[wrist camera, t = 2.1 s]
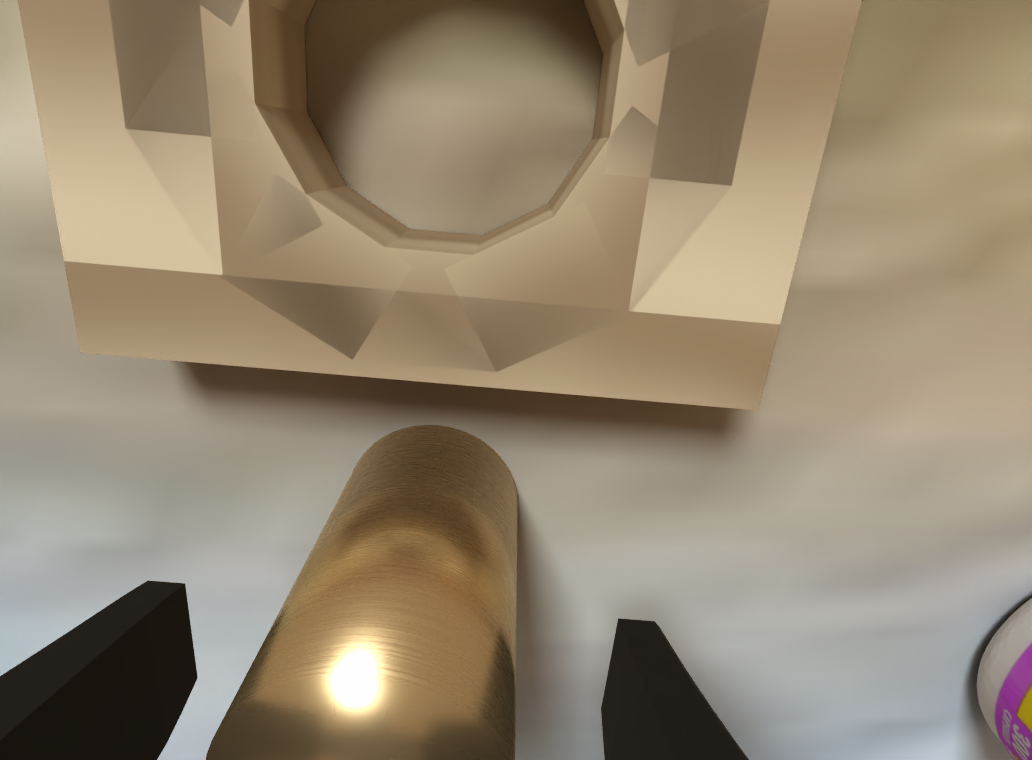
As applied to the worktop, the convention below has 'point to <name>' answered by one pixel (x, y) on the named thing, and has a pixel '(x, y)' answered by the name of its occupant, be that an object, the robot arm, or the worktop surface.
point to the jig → (428, 254)
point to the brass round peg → (395, 618)
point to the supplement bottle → (1009, 683)
